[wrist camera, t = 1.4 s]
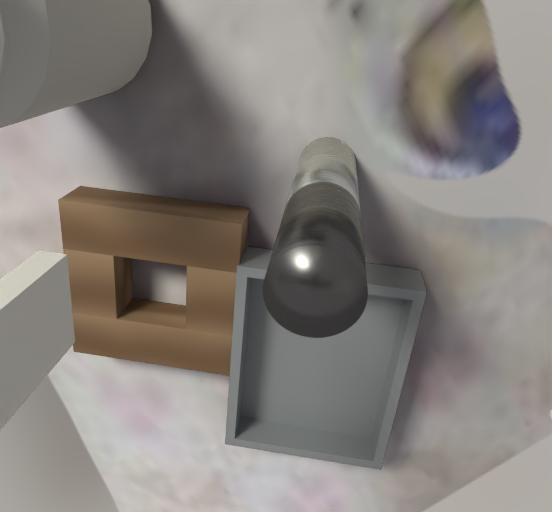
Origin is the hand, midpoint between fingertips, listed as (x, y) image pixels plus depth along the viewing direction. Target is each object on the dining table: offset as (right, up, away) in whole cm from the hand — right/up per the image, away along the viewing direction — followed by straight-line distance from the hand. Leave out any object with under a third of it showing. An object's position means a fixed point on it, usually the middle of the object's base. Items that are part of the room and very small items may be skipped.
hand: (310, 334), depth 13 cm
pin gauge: (+2, +7, +14) cm, 16 cm away
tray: (+2, -4, +19) cm, 19 cm away
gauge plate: (-8, +1, +18) cm, 20 cm away
